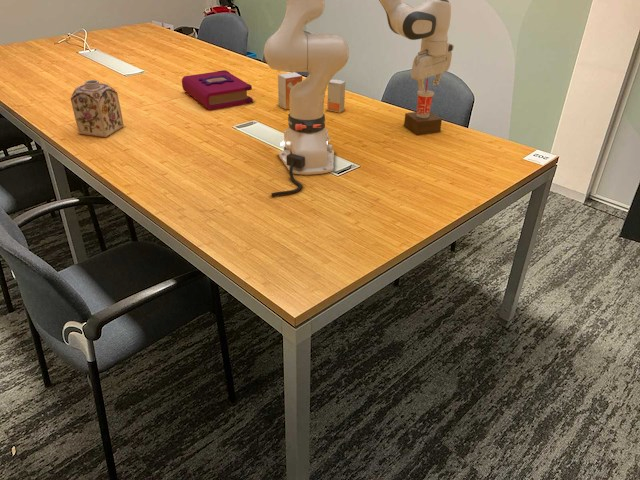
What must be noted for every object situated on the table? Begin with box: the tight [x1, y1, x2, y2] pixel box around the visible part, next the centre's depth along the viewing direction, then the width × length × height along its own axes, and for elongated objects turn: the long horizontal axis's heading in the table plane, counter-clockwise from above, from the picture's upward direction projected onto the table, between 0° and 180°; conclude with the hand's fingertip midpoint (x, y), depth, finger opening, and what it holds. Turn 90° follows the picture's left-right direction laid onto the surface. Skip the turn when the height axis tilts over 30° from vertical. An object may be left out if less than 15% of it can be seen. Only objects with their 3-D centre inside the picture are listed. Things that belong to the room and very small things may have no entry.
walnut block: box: [403, 111, 443, 136], centre depth 199 cm, size 10×10×5 cm
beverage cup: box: [416, 77, 435, 118], centre depth 194 cm, size 6×6×14 cm
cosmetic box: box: [326, 78, 347, 114], centre depth 213 cm, size 6×4×12 cm
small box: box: [277, 72, 303, 110], centre depth 216 cm, size 8×6×13 cm
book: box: [181, 69, 254, 111], centre depth 225 cm, size 21×28×8 cm
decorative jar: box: [70, 79, 125, 138], centre depth 189 cm, size 12×12×18 cm
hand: (428, 87), depth 191 cm, fingers open, 8 cm apart
